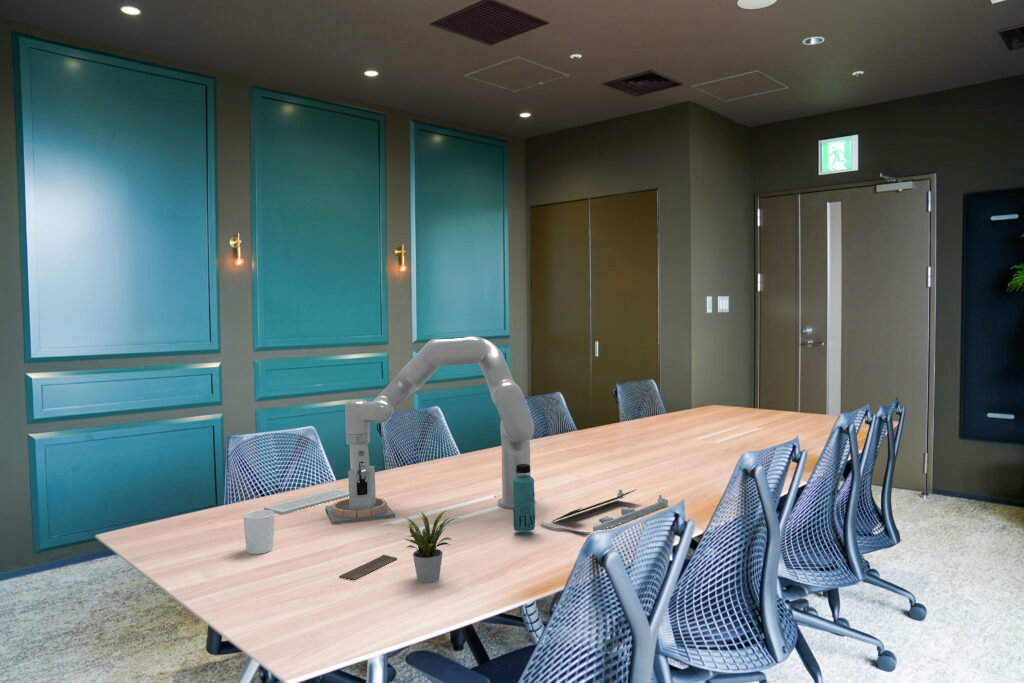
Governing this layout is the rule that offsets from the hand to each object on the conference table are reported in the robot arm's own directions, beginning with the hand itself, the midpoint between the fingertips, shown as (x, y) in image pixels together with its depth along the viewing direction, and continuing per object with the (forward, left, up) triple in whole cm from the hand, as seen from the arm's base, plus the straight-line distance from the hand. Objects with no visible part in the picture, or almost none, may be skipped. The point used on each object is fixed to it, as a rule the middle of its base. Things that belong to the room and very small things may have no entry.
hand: (359, 491), depth 220 cm
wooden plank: (-51, +6, -8) cm, 52 cm away
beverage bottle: (-42, -40, -7) cm, 58 cm away
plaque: (+21, +13, -8) cm, 26 cm away
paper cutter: (-36, -70, -8) cm, 79 cm away
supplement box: (0, -1, -5) cm, 5 cm away
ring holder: (0, 0, -7) cm, 7 cm away
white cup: (-25, +31, -7) cm, 41 cm away
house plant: (-64, -7, -7) cm, 65 cm away
